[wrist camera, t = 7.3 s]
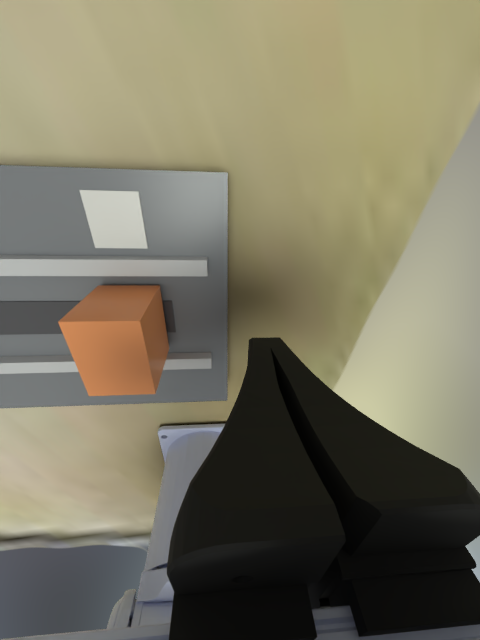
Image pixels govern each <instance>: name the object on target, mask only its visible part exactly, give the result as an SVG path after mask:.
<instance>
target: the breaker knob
mask: <svg viewBox="0 0 480 640" xmlns="http://www.w3.org/2000/svg"><path fill="white" fill-rule="evenodd" d="M58 323H59V326H60V328H61V330H62V333H63V335H64V338H65V340H66V342H67V345H68V347H69V349H70V352H71V354H72V357H73V359H74V361H75V364H76V366H77V369H78V371H79V373H80V376H81V378H82V381H83V383H84V385H85V388H86V390H87V393H88V395H89V396H110V395H141V394H156V391H157V388H158V385H159V381H160V378H161V374H162V371H163V368H164V364H165V361H166V358H167V354H168V351H169V343H168V337H167V330H166V323H165V317H164V310H163V304H162V297H161V291H160V285H98V286H97V287H96V288H95V289H94V290H93V291H92V292H91V293H89V294H88V295H87V296H86V297H85V298H84V299H83V300H82V301H81V302H79V303H78V304H77V305H76V306H75V307H74V308H73V309H72V310H70V311H69V312H68V313H67V314H66V315H65V316H64V317H63V318H62V319H60V320H59V321H58Z"/></svg>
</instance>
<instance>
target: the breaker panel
mask: <svg viewBox="0 0 480 640" xmlns="http://www.w3.org/2000/svg"><path fill="white" fill-rule="evenodd" d="M98 285H160V291H161V297H162V304H163V310H164V317H165V323H166V330H167V337H168V343H169V351H168V354H167V358H166V361H165V364H164V368H163V371H162V374H161V378H160V381H159V385H158V388H157V391H156V394H141V395H110V396H89V395H88V393H87V390H86V388H85V385H84V383H83V381H82V378H81V376H80V373H79V371H78V369H77V366H76V364H75V361H74V359H73V357H72V354H71V352H70V349H69V347H68V345H67V342H66V340H65V338H64V335H63V333H62V330H61V328H60V326H59V323H58V321H59V320H60V319H62V318H63V317H64V316H65V315H66V314H67V313H68V312H69V311H70V310H72V309H73V308H74V307H75V306H76V305H77V304H78V303H79V302H81V301H82V300H83V299H84V298H85V297H86V296H87V295H88V294H89V293H91V292H92V291H93V290H94V289H95V288H96V287H97V286H98ZM227 301H228V173H226V172H195V171H165V170H134V169H104V168H73V167H43V166H12V165H0V408H24V407H53V406H82V405H110V404H139V403H168V402H197V401H226V400H227Z"/></svg>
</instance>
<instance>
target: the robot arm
mask: <svg viewBox="0 0 480 640" xmlns="http://www.w3.org/2000/svg"><path fill="white" fill-rule="evenodd" d="M158 436H159V440H160V445H161V449H162V453H163V457H164V462H165V466H164V471H163V477H162V482H161V487H160V492H159V497H158V502H157V507H156V513H155V518H154V523H153V528H152V533H151V538H150V543H149V549H148V554H147V559H146V565H145V569H144V571H143V572H142V575H141V580H140V585H139V590H138V595H137V599H135V595H136V589H129V590H127V591H126V592H125V594H124V596H123V597H122V598H121V599H120V600H119V601H118V602H117V603H116V604H115V606H114V608H113V610H112V613H111V616H110V619H109V622H108V626H107V629H101V630H90V631H81V632H70V633H61V634H49V635H39V636H28V637H18V638H8V639H0V640H480V582H479V581H478V579H477V578H476V576H475V574H474V573H473V571H472V570H471V569H474V568H475V567H476V563H475V561H474V559H473V557H472V556H471V554H470V553H469V552H468V550H467V548H466V547H465V546H466V545H467V544H469V543H470V542H471V541H473V540H474V539H475V538H477V537H478V536H479V535H480V494H479V492H478V491H477V490H476V489H475V487H474V486H473V485H472V484H471V482H470V481H469V480H468V479H467V477H466V476H465V475H464V474H463V473H462V472H461V470H460V469H458V468H456V467H455V466H453V465H451V464H449V463H447V462H445V461H443V460H441V459H439V458H437V457H435V456H433V455H432V454H429V453H428V452H426V451H424V450H422V449H420V448H418V447H416V446H414V445H413V444H411V443H409V442H407V441H406V440H404V439H402V438H401V437H399V436H397V435H396V434H394V433H392V432H391V431H389V430H387V429H386V428H384V427H383V426H381V425H379V424H378V423H376V422H375V421H373V420H372V419H370V418H369V417H367V416H366V415H364V414H363V413H361V412H360V411H358V410H357V409H356V408H354V407H353V406H351V405H350V404H349V403H347V402H346V401H345V400H343V399H342V398H341V397H340V396H338V395H337V394H336V393H335V392H333V391H332V390H331V389H330V388H329V387H327V386H326V385H325V384H324V383H323V382H322V381H321V380H320V379H319V378H317V377H316V376H315V375H314V374H313V373H312V372H311V371H310V370H309V369H308V368H307V367H306V366H305V365H304V364H303V363H302V362H301V361H300V359H299V358H298V357H297V356H296V355H295V354H294V353H293V352H292V351H291V350H290V348H289V347H288V346H287V345H286V344H285V343H284V342H283V341H282V339H281V338H251V339H250V340H249V349H248V366H247V370H246V374H245V377H244V380H243V383H242V387H241V389H240V392H239V395H238V397H237V400H236V402H235V405H234V407H233V409H232V411H231V413H230V416H229V418H228V420H227V422H226V424H202V425H178V426H162V427H160V428H159V429H158Z"/></svg>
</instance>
